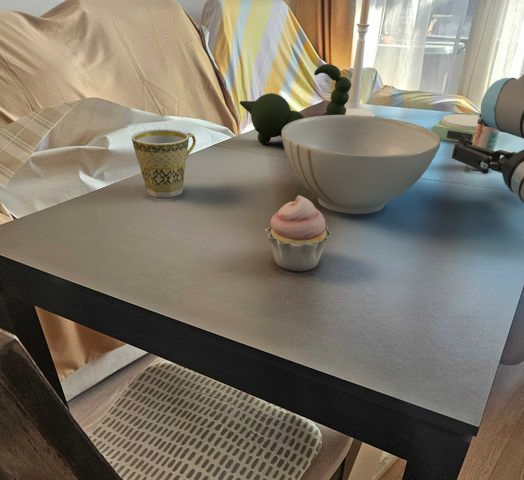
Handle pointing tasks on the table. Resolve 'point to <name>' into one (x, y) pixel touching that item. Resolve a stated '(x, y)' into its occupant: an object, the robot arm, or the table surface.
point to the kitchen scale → (456, 127)
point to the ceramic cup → (162, 160)
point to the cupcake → (298, 235)
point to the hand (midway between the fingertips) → (494, 142)
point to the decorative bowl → (358, 159)
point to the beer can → (484, 136)
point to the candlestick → (359, 67)
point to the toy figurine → (279, 113)
